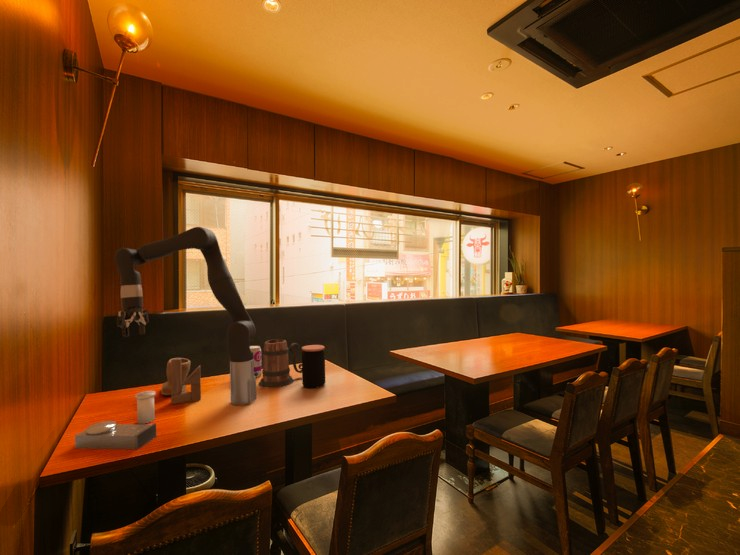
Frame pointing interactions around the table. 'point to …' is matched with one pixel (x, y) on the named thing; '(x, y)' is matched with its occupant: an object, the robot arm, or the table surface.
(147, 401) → the white flanged cylinder
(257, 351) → the supplement can
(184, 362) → the stone cup
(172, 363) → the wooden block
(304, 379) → the coffee jar
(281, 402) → the table surface
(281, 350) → the tankard
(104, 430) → the grey soap dish block
